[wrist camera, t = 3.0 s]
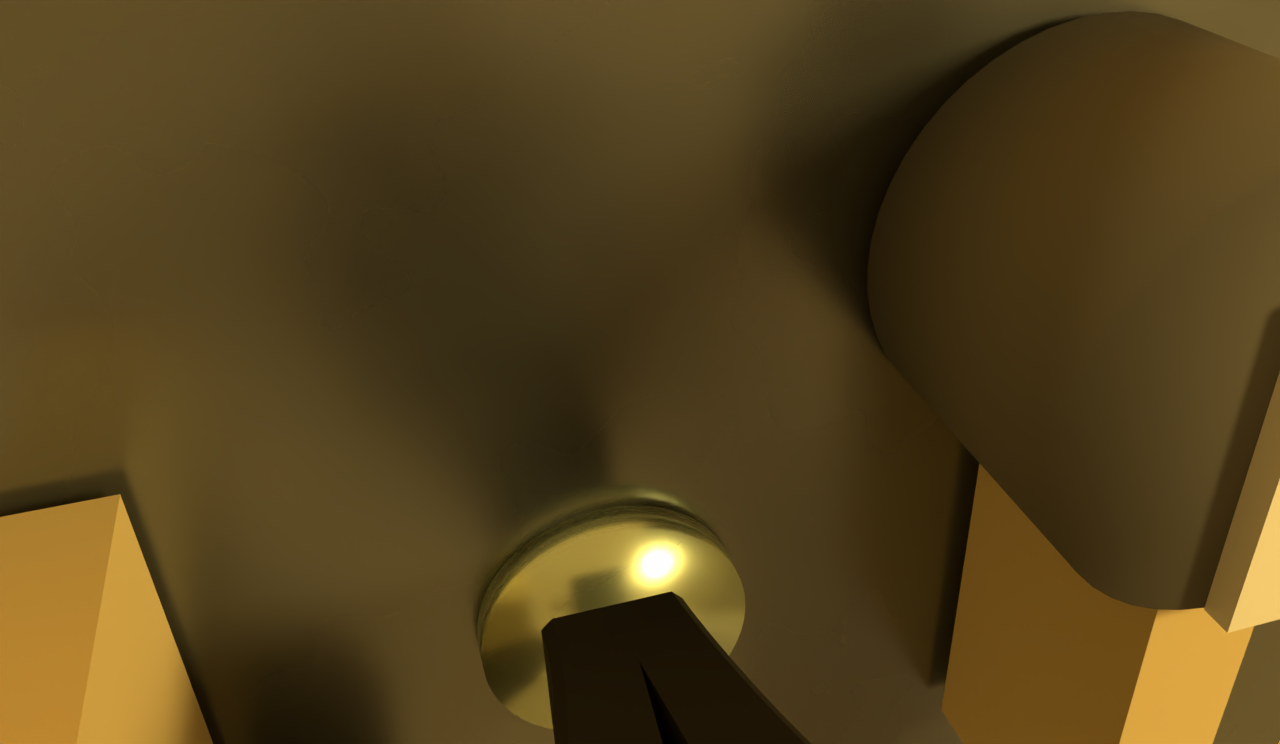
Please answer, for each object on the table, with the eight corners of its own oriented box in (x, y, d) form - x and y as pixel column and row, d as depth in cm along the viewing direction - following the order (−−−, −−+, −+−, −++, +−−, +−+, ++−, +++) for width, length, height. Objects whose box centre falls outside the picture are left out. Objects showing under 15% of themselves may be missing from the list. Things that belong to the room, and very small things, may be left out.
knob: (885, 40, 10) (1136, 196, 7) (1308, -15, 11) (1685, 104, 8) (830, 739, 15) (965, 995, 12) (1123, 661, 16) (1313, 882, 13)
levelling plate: (1193, 785, 21) (1255, 860, 20) (-110, 1171, 16) (-142, 1302, 15) (1604, -380, 11) (1780, -384, 10) (-1340, -219, 7) (-1731, -189, 5)
